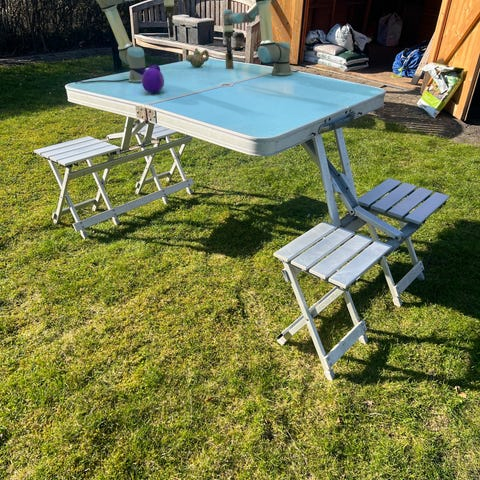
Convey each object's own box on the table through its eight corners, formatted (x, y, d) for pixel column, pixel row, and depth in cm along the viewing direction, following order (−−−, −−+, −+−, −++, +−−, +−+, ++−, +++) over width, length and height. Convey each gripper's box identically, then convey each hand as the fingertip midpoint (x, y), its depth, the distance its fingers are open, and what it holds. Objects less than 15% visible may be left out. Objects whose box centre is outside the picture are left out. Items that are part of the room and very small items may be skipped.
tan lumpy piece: (189, 69, 379) (188, 50, 372) (184, 67, 388) (182, 48, 380) (212, 66, 388) (211, 47, 381) (206, 64, 397) (205, 46, 389)
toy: (156, 85, 322) (164, 98, 301) (131, 81, 314) (137, 93, 294) (160, 63, 314) (168, 74, 293) (135, 58, 306) (141, 69, 286)
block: (232, 67, 383) (232, 52, 378) (233, 68, 379) (232, 53, 373) (225, 67, 383) (225, 53, 377) (226, 68, 378) (225, 54, 372)
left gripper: (164, 5, 353) (167, 34, 364) (163, 6, 331) (166, 38, 342) (174, 4, 353) (176, 34, 364) (173, 6, 332) (176, 37, 343)
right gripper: (222, 29, 377) (223, 56, 387) (225, 32, 355) (226, 61, 366) (231, 29, 378) (232, 56, 388) (234, 32, 356) (235, 60, 367)
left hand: (171, 36), depth 353 cm, fingers open, 13 cm apart
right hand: (229, 58), depth 377 cm, fingers open, 13 cm apart
